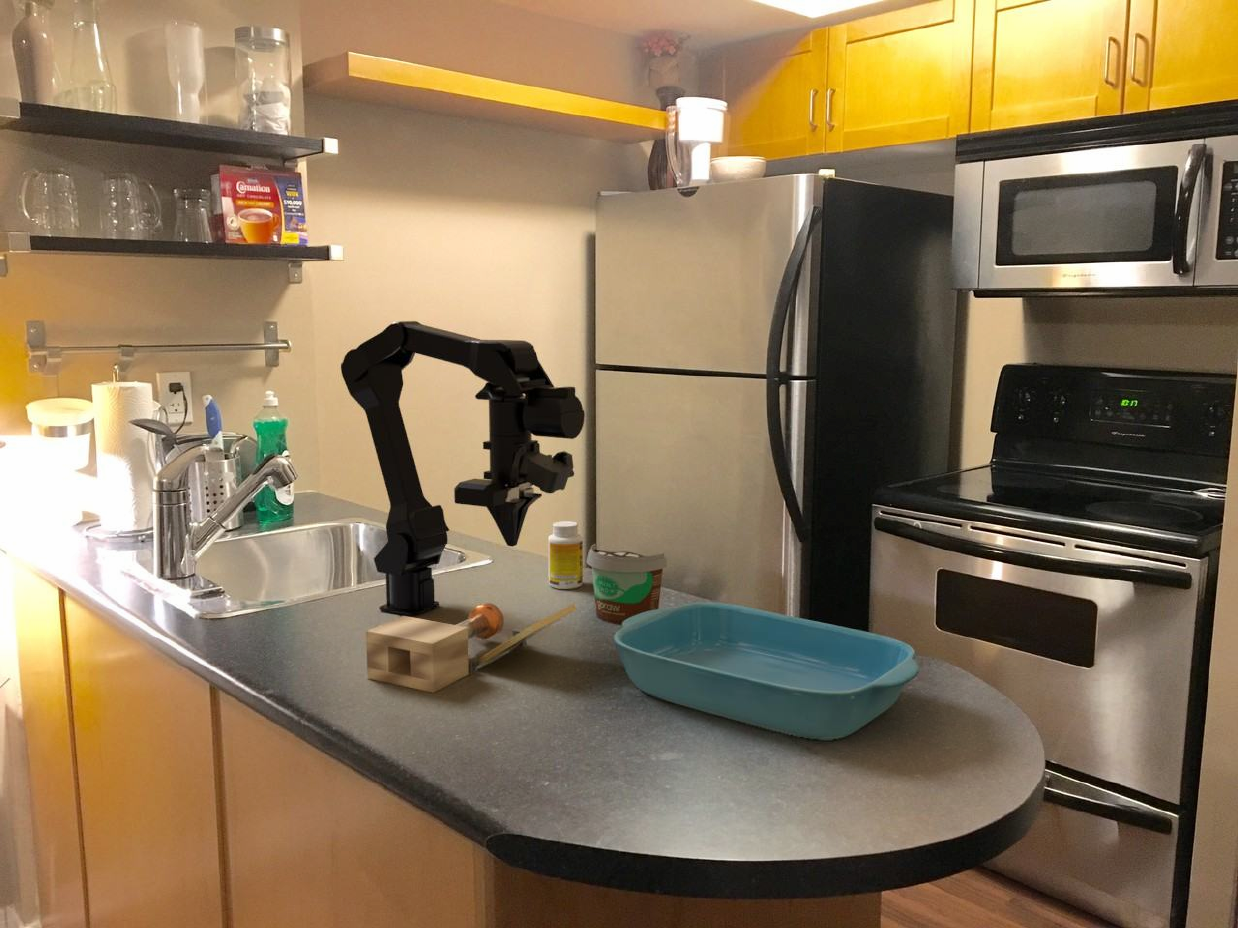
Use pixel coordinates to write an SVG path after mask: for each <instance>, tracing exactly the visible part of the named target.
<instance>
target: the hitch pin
mask: <svg viewBox="0 0 1238 928" xmlns="http://www.w3.org/2000/svg"><path fill="white" fill-rule="evenodd" d="M504 621H505V619H504V615H503V613H502V610H501V609H500V608H499V607H498V606H497V605H496V604H493V603H491V602H485V603H483V604H480V605H478V606H475V607H474V608H472V610H471V611H470V612H469V614H468V617H467V619H465V620H463V621H461V622H459V623H456V624H455V625H458V626H463V627H468V640H470V639H472V638H475V637H476V638H478V639H481V640H487V639H489V638H492V637H493V636H496V635H498V634H499V633H500V632H501V631H502V630H503V627H504V624H505V622H504Z"/></svg>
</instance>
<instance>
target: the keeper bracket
mask: <svg viewBox="0 0 1238 928" xmlns="http://www.w3.org/2000/svg"><path fill="white" fill-rule="evenodd" d="M523 630H524V629H521V628H515V629H513V630H512V637H513V636H515V635H517V634H518V633H520V632H521V631H523ZM527 645H528V640H526V641H525V642H523V643H521V644H520V645H518V646H517V647H521V648H524V647H525V646H527ZM476 660H477V655H473V654H468V665H469V674H468V675H473V674H475V673H477V667H476Z"/></svg>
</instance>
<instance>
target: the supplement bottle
mask: <svg viewBox="0 0 1238 928" xmlns="http://www.w3.org/2000/svg"><path fill="white" fill-rule="evenodd" d="M583 543H584V541H583V536H582V535H581V534H579V527H578V522H575V521H572V520H571V521H570V520H565V521H563V520H562V521H556V522H554V523H553V524H552V534H550V535H549V536H548V539H547V570H548V571H547V573H548V574H547V575H548V577H547V578H548V585H549V586H550V587H551V588H553V589H558V590H571V589H577V588H579V587H581V586H582V585H583V582H584V581H583V580H584V579H583V577H584V573H583V571H584V569H583V568H584V564H583V563H584V561H583V558H584V545H583Z"/></svg>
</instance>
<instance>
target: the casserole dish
mask: <svg viewBox="0 0 1238 928" xmlns="http://www.w3.org/2000/svg"><path fill="white" fill-rule="evenodd" d="M613 640H614V643H615V647H616V648H617V651H618V653H619V656H620V659H621V662H622V664H623V668H624V669H625V672H626V674H627V677H628V678H629V679H630V681H631V682H632V684H633V685H635V687H636V688H638V689H639V690H641V691H642V692H644V693H645V694H648V695H650V696H652V697H655V698H657V699H661V700H662V701H667V702H670V703H672V704H676V705H678V706H679V705H680V706H682V707H685V708H688V709H692V710H696V711H700V712H703V713H705V714H709V715H713V716H716V717H717V716H718V717H722V718H725V719H727V718H728V719H729V720H731V719H732V721H734V720H735V721H734V722H738V721H740V722H739V723H741V724H742V723H743V724H745V723H746V724H745V725H749V724H750V726H753V725H754V726H753V727H756V726H758V727H757V728H760V727H761V729H764V728H765V730H768V729H769V730H768V731H771V732H775V731H776V733H779V732H781V733H780V734H783V733H785V734H784V735H787V734H788V735H787V736H791V735H793V736H792V737H795V736H796V737H797V738H800V737H804V738H803V739H806V738H810V739H809V740H813V739H819V740H818V741H834V740H833V739H836V740H840V739H843V738H845V737H848V736H850V735H852V734H854V733H855V732H857V731H859V730H860V729H861V728H863V727H864V726H865V725H867V724H868V723H870V722H872V721H873V720H875V719H876V718H877V717H879V716H880V715H882V714H883V713H884V712H886V711H888V710H889V708H890V707H891V706H893V705H894V703H895V702H896V701H897V699H899V697H900V695H901V693H902V692H903V689H904V686H905V685H906V684H907V683H909V682H911V681H912V680H913V679H914V678H916V677H917V675H918V674H919V671H920V666H919V664H918V663H917V662H916V661H915V657H916V651H915V649H914V648H913V646H912V645H910V644H908V643H906V642H903V641H902V640H900V639H896V638H893V637H891V636H890V637H889V636H887V635H882V634H877V633H873V632H868V631H865V630H861V629H854V628H850V627H845V626H841V625H839V626H838V625H837V624H836V625H835V624H830V623H825V622H821V621H816V620H812V619H811V620H810V619H806V618H803V617H802V618H801V617H797V616H792V615H786V614H782V613H778V612H772V611H769V610H763V609H759V608H752V607H748V606H742V605H737V604H731V603H730V604H729V603H728V604H727V603H721V602H691V603H686V604H680V605H677V606H674V607H673V606H672V607H665V608H658V609H656V610H650V611H646V612H643V613H640V614H637V615H635V616H632V617H630V618H628V619H626V620H624V621H623V622H622V624H621V628H620V629H619V630H618V631H617V632H616V633H615V635H614V636H613ZM796 737H795V738H796ZM839 738H840V739H839Z"/></svg>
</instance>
